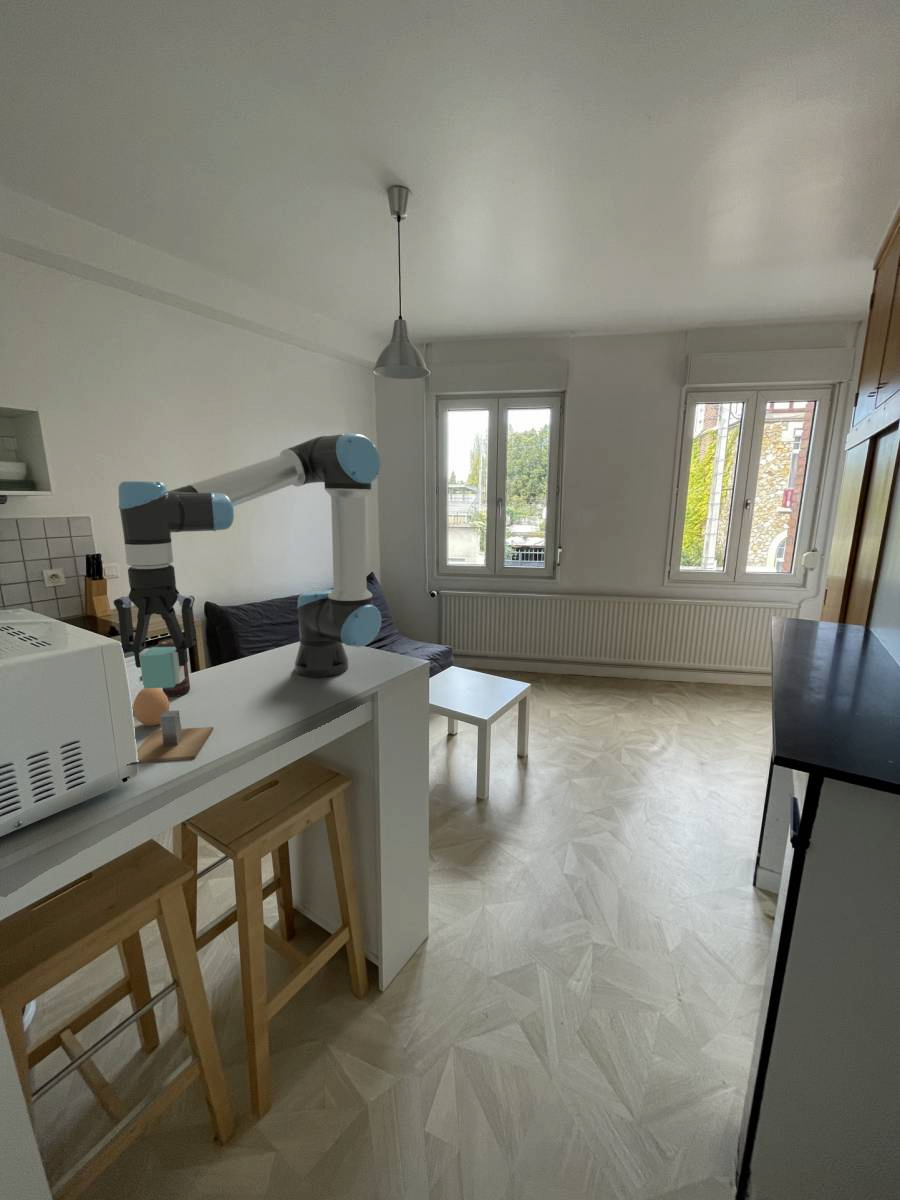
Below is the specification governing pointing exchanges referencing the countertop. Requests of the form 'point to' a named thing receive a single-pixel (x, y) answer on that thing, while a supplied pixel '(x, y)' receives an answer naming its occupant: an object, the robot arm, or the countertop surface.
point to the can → (185, 684)
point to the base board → (185, 749)
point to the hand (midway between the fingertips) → (164, 681)
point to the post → (171, 728)
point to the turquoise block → (158, 667)
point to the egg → (150, 706)
